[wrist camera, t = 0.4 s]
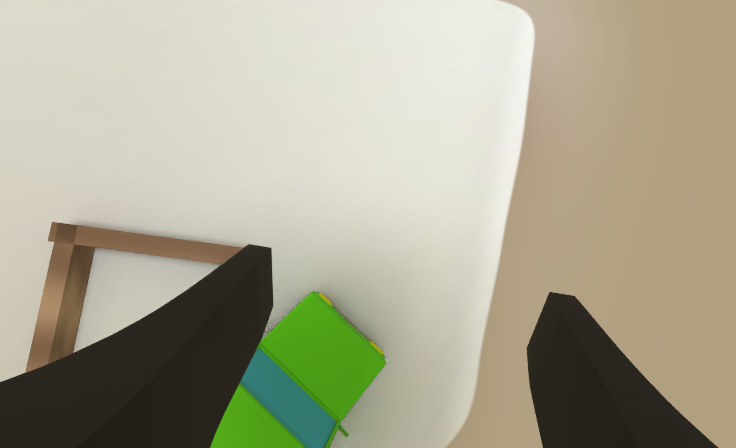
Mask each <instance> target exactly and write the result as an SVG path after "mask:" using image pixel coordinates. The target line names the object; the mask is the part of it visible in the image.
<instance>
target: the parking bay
mask: <svg viewBox="0 0 736 448" xmlns="http://www.w3.org/2000/svg"><path fill="white" fill-rule="evenodd" d="M48 241H52V242H54V246H53V250H52V255H51V259H50V264H49V268H48V273H47V277H46V282H45V286H44V291H43V295H42V300H41V304H40V309H39V313H38V318H37V323H36V327H35V332H34V336H33V341H32V345H31V350H30V354H29V359H28V363H27V368H26V372H29V371H32V370H34V369H37V368H39V367H42V366H44V365H47V364H49V363H52V362H54V361H56V360H59V359H61V358H64V357H66V356H68V355H70V354H72V353H73V349H74V344H75V339H76V335H77V330H78V325H79V320H80V316H81V311H82V306H83V301H84V296H85V292H86V287H87V282H88V277H89V273H90V268H91V263H92V258H93V254H94V249H95V247H97V248H104V249H112V250H119V251H126V252H134V253H141V254H149V255H156V256H164V257H171V258H178V259H186V260H193V261H201V262H208V263H216V264H223V263H224V262H226V261H227V260H228V259H230V258H231V257H232V256H234V255H235V254H236V253H238V252H239V251H240V250H242V249H243V248H240V247H232V246H225V245H218V244H210V243H203V242H196V241H188V240H181V239H173V238H166V237H159V236H151V235H144V234H137V233H129V232H122V231H114V230H107V229H100V228H92V227H85V226H78V225H70V224H63V223H56V222H52V225H51V229H50V234H49V238H48ZM26 372H25V373H26Z"/></svg>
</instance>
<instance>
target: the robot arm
mask: <svg viewBox="0 0 736 448" xmlns="http://www.w3.org/2000/svg"><path fill="white" fill-rule="evenodd" d="M272 308H273V284H272V254H271V248H269V247H263V246H257V245H250V244H249V245H247V246H246V247H245V248H243V249H242V250H240V251H239V252H238V253H236V254H235V255H234V256H232V257H231V258H230V259H228V260H227V261H226V262H224V263H223V264H222V265H221V266H219V267H218V268H217V269H215V270H214V271H213V272H211V273H210V274H208V275H207V276H206V277H204V278H203V279H202V280H200V281H199V282H197V283H196V284H195V285H193V286H192V287H190V288H189V289H188V290H186V291H185V292H183V293H182V294H180V295H179V296H177V297H176V298H174V299H173V300H171V301H170V302H168V303H166V304H165V305H163V306H162V307H160V308H159V309H157V310H156V311H154V312H152V313H151V314H149V315H147V316H146V317H144V318H142V319H140V320H139V321H137V322H135V323H133V324H131V325H129V326H128V327H126V328H124V329H122V330H120V331H118V332H117V333H115V334H113V335H111V336H109V337H107V338H104V339H102V340H100V341H98V342H96V343H94V344H92V345H90V346H87V347H85V348H83V349H81V350H79V351H77V352H75V353H72V354H70V355H68V356H66V357H64V358H61V359H59V360H56V361H54V362H52V363H49V364H47V365H44V366H42V367H39V368H37V369H34V370H32V371H29V372H26V373H24V374H21V375H19V376H16V377H13V378H10V379H8V380H5V381H2V382H0V448H210V447H211V444H212V442H213V439H214V437H215V434H216V431H217V429H218V427H219V424H220V422H221V420H222V418H223V416H224V413H225V411H226V409H227V407H228V405H229V403H230V401H231V399H232V397H233V395H234V393H235V391H236V389H237V387H238V385H239V383H240V381H241V380H242V378H243V376H244V374H245V372H246V370H247V368H248V366H249V364H250V362H251V360H252V358H253V355H254V353H255V351H256V349H257V347H258V345H259V343H260V341H261V339H262V336H263V334H264V331H265V328H266V325H267V322H268V320H269V317H270V314H271V311H272ZM527 359H528V372H529V382H530V389H531V394H532V399H533V403H534V408H535V413H536V418H537V422H538V427H539V431H540V436H541V440H542V445H543V448H718V447H717V446H716V445H714V444H713V443H712V442H711V441H710V440H709V439H708V438H707V437H706V436H704V435H703V434H702V433H701V432H700V431H699V430H698V429H697V428H695V426H693V425H692V424H691V423H690V422H689V421H688V420H687V419H686V418H685V417H684V416H683V415H681V414H680V412H678V411H677V410H676V409H675V408H674V407H673V406H672V405H671V404H670V403H669V402H668V401H667V400H666V399H665V398H664V397H663V396H662V395H661V394H660V393H659V392H658V391H657V389H656V388H655V387H654V386H653V385H652V384H651V383H650V382H649V381H648V380H647V379H646V378H645V377H644V376H643V375H642V374H641V373H640V372H639V370H638V369H637V368H636V367H635V366H634V365H633V364H632V363H631V362H630V361H629V359H628V358H627V357H626V356H625V355H624V354H623V353H622V351H621V350H620V349H619V348H618V347H617V346H616V344H615V343H614V342H613V341H612V340H611V339H610V338H609V336H608V335H607V334H606V333H605V332H604V330H603V329H602V328H601V327H600V326H599V324H598V323H597V322H596V321H595V319H594V318H593V317H592V316H591V315H590V314H589V312H588V311H587V310H586V309H585V308H584V306H583V305H582V304H581V303H580V302H579V301H578V299H577V298H576V297H575V296H571V295H565V294H558V293H552V292H550V293H549V295H548V297H547V300H546V302H545V305H544V307H543V309H542V312H541V315H540V317H539V319H538V322H537V324H536V327H535V329H534V332H533V334H532V337H531V339H530V342H529V344H528V346H527Z"/></svg>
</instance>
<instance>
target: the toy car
mask: <svg viewBox="0 0 736 448" xmlns="http://www.w3.org/2000/svg"><path fill="white" fill-rule="evenodd" d="M384 359H385V357H384V355H383V351H382V350H381V349H380V348H379V347H378V346H377V345H376V344H375V343H374V342H373V341H372V340H370V341H369V340H368V339H367V338H366V337H365V336H364V335H363V334H362V333H361V332H360V331H359V330H358V329H356V328H355V327H354V326H353V325H352V324H351V323H350V322H349V321H348V320H347V319H346V318H345V317H344V316H343V315H342V314H341V313H340V312H339V311H337V310H336V309H335V308H334V307H333V306H332V303H331V302H330V301H329V300H328V299H327V298H326V297H325V296H324V295H323V294H322V293H318V292H316V293H315V292H311V293H310V294H309V295H308V296H307V297H306V298H305V299H304V300H302V301H301V302H300V303H299V304H298V305H297V306H296V307H295V308H294V309H293V310H292V311H291V312H290V313H289V314H288V315H287V316H286V317H285V318H284V319H283V320H282V321H281V322H280V323H279V324H278V325H277V326H276V327H275V328H274V329H273V330H272V331H271V332H270V333H269V334H268V335H267V336H266V337H265V338H264V339H263V340H262V341H261V342H260V343H259V345H258V347H257V349H256V351H255V353H254V355H253V358H252V360H251V362H250V364H249V366H248V368H247V370H246V372H245V374H244V376H243V378H242V380H241V381H240V383H239V385H238V387H237V389H236V391H235V393H234V395H233V397H232V399H231V401H230V403H229V405H228V407H227V409H226V411H225V413H224V416H223V418H222V420H221V422H220V424H219V427H218V429H217V431H216V434H215V437H214V439H213V442H212V444H211V447H210V448H329V447H330V445H331V442H332V440H333V438H334V436H335V434H336V431H337V429H339V430H340V431H341V432H342V433H343V435H344V436H345V437H347V436H348V435H349V434H348V433H347V432H346V431H345V430H344V429H343V428H342V427H341V426H340V423H341V420H342V419H343V418H344V417H345V415H346V414H347V413H348V412H349V410H350V409H351V408H352V406H353V405H354V404H355V403H356V401H357V400H358V399H359V397H360V396H361V395H362V394H363V392H364V391H365V390H366V388H367V387H368V386H369V385H370V383H371V382H372V381H373V380H374V378H375V377H376V376H377V374H378V373H379V372H380V371H381V369H382V368H383V367H384V365H385V364H386V362H385V360H384Z"/></svg>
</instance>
